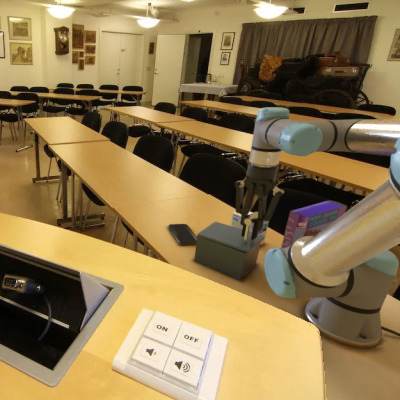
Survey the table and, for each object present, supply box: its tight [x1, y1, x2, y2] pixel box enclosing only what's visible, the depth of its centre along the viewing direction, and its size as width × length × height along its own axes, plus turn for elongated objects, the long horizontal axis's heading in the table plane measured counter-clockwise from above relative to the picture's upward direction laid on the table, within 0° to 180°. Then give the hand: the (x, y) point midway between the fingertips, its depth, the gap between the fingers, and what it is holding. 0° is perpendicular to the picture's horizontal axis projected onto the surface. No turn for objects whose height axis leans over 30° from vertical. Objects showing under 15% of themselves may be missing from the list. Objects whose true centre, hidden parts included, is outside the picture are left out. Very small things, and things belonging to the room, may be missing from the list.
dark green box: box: [193, 235, 261, 281], centre depth 107 cm, size 16×13×10 cm
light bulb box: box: [230, 210, 270, 246], centre depth 120 cm, size 11×7×11 cm, turn 32°
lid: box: [196, 211, 266, 253], centre depth 103 cm, size 16×13×10 cm
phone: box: [168, 223, 197, 246], centre depth 127 cm, size 8×1×15 cm
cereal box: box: [280, 199, 348, 248], centre depth 95 cm, size 17×5×24 cm, turn 114°
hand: (248, 236), depth 100 cm, fingers closed on lid, 2 cm apart
